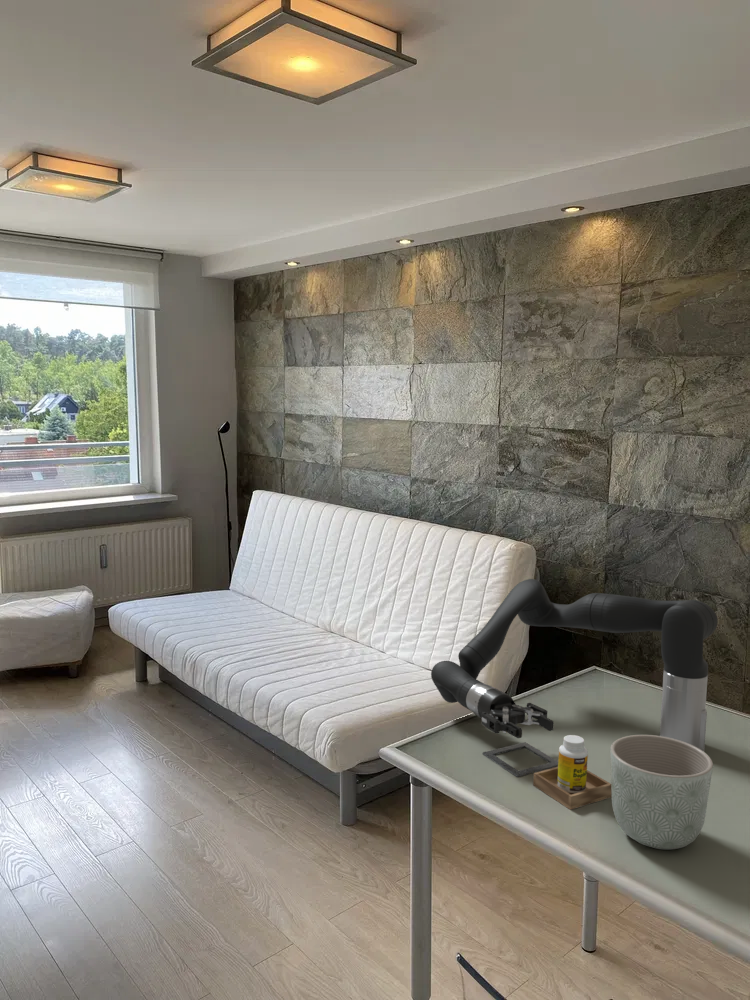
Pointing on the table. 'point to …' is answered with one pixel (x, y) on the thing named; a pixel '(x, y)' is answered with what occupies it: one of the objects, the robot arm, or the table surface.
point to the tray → (592, 793)
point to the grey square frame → (517, 773)
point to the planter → (659, 789)
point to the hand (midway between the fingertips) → (536, 730)
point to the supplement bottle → (572, 764)
